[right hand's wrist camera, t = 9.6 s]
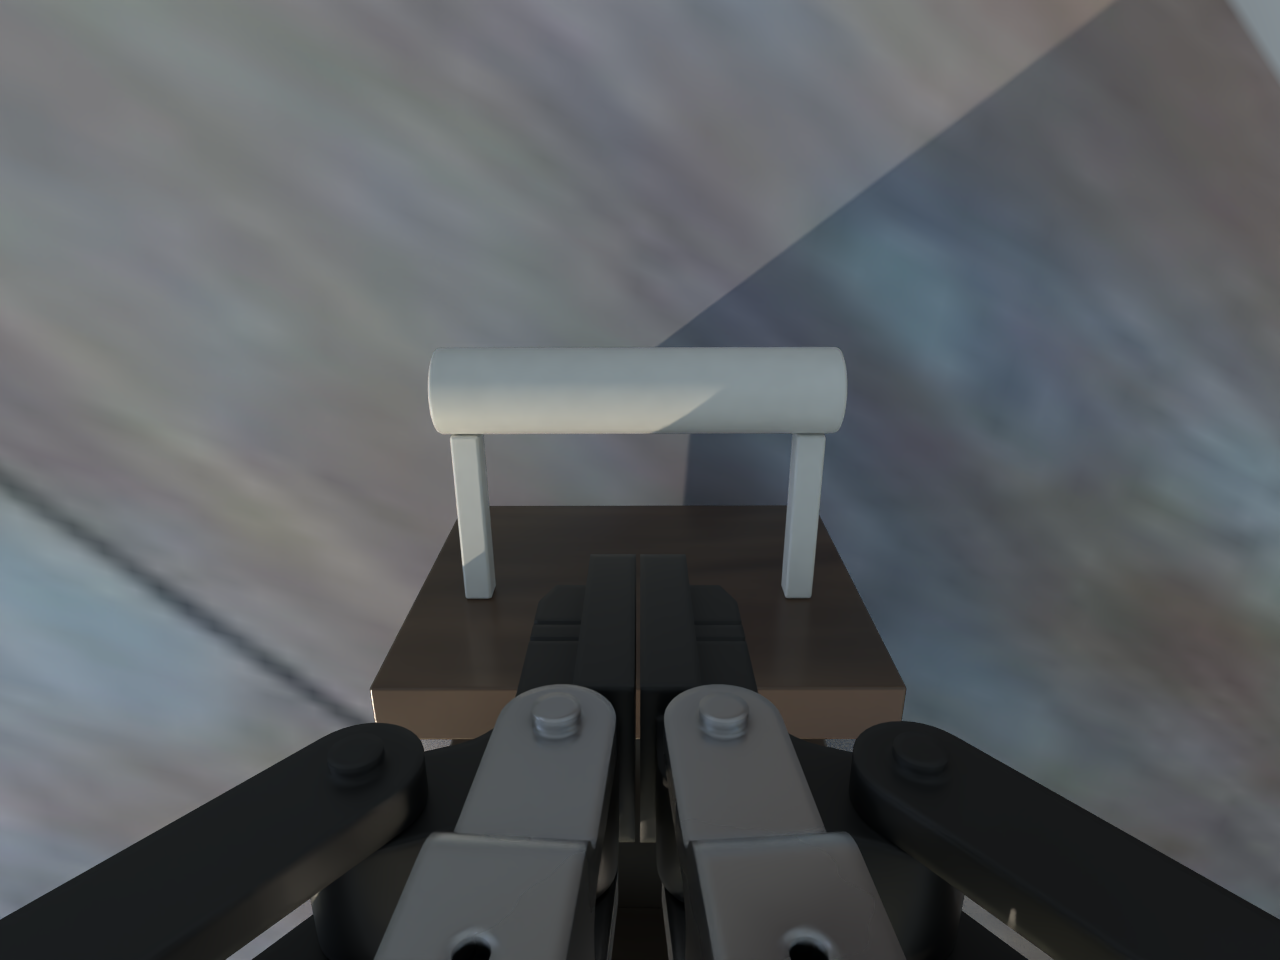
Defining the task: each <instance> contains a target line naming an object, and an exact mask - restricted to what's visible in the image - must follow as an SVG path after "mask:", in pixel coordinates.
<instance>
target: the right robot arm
mask: <svg viewBox="0 0 1280 960" xmlns="http://www.w3.org/2000/svg"><path fill="white" fill-rule="evenodd" d="M635 759H636V554H590V560H589V567H588V575H587V582H586V585H556V586H555V587H554V588H553V589H551V590H550V591H549V592H548V593H547V594H546V595H545V596H544V597H543V598H542V599H541V600H540V601H539V603H538V607H537V611H536V615H535V619H534V625H533V627H532V631H531V636H530V641H529V644H528V648H527V652H526V656H525V660H524V664H523V668H522V672H521V677H520V681H519V685H518V689H517V693H516V697H515V698H513V699H512V700H511V701H510V702H509V703H507V704H506V705H505V707H504V708H503V709H502V710H501V712H500V714H499V716H498V718H497V721H496V723H495V726H494V728H493V729H491V730H490V731H488V732H487V733H485V734H483V735H481V736H479V737H477V738H474V739H472V740H469V741H467V742H463V743H460V744H456V745H452V746H447V747H443V748H438V749H434V750H430V751H425V752H424V748H423V745H422V742H421V740H420V739H419V738H418V736H417V735H415V734H414V733H413V732H412V731H410V730H408V729H406V728H404V727H401V726H398V725H395V724H388V723H366V724H360V725H354V726H350V727H347V728H343V729H340V730H338V731H335V732H333V733H331V734H329V735H327V736H325V737H323V738H321V739H319V740H317V741H315V742H314V743H312V744H310V745H308V746H307V747H305V748H303V749H301V750H299V751H298V752H296V753H294V754H292V755H291V756H289V757H287V758H285V759H284V760H282V761H280V762H278V763H276V764H275V765H273V766H271V767H269V768H268V769H266V770H264V771H262V772H261V773H259V774H257V775H255V776H253V777H252V778H250V779H248V780H246V781H245V782H243V783H241V784H239V785H238V786H236V787H234V788H232V789H231V790H229V791H227V792H225V793H223V794H222V795H220V796H218V797H216V798H215V799H213V800H211V801H209V802H208V803H206V804H204V805H202V806H200V807H199V808H197V809H195V810H193V811H192V812H190V813H188V814H186V815H185V816H183V817H181V818H179V819H177V820H176V821H174V822H172V823H170V824H169V825H167V826H165V827H163V828H162V829H160V830H158V831H156V832H154V833H153V834H151V835H149V836H147V837H146V838H144V839H142V840H140V841H139V842H137V843H135V844H133V845H131V846H130V847H128V848H126V849H124V850H123V851H121V852H119V853H117V854H116V855H114V856H112V857H110V858H108V859H107V860H105V861H103V862H101V863H100V864H98V865H96V866H94V867H93V868H91V869H89V870H87V871H86V872H84V873H82V874H80V875H78V876H77V877H75V878H73V879H71V880H70V881H68V882H66V883H64V884H63V885H61V886H59V887H57V888H55V889H54V890H52V891H50V892H48V893H47V894H45V895H43V896H41V897H40V898H38V899H36V900H34V901H32V902H31V903H29V904H27V905H25V906H24V907H22V908H20V909H18V910H17V911H15V912H13V913H11V914H9V915H8V916H6V917H4V918H2V919H1V920H0V960H226V959H227V958H228V957H230V956H231V955H232V954H234V953H235V952H237V951H238V950H239V949H241V948H242V947H243V946H245V945H246V944H248V943H249V942H250V941H252V940H253V939H255V938H256V937H257V936H259V935H260V934H261V933H263V932H264V931H266V930H267V929H268V928H270V927H271V926H273V925H274V924H275V923H277V922H278V921H279V920H281V919H282V918H284V917H285V916H286V915H288V914H289V913H291V912H292V911H293V910H295V909H296V908H298V907H299V906H300V905H302V904H303V903H304V902H306V901H307V900H309V899H310V900H311V905H312V910H313V915H312V916H310V917H309V918H308V919H306V920H305V921H304V922H302V923H301V924H299V925H298V926H297V927H295V928H294V929H293V930H291V931H290V932H289V933H287V934H286V935H285V936H283V937H282V938H281V939H279V940H278V941H276V942H275V943H274V944H272V945H271V946H270V947H268V948H267V949H266V950H264V951H263V952H262V953H260V954H259V955H258V956H256V957H255V958H253V959H252V960H611V957H612V949H613V940H614V932H615V923H616V915H617V906H618V846H619V842H635ZM640 842H656V859H657V871H658V874H659V877H660V880H661V881H662V906H663V915H664V923H665V932H666V940H667V949H668V957H669V960H1028V959H1026V958H1025V957H1024V956H1022V955H1021V954H1020V953H1018V952H1017V951H1016V950H1014V949H1013V948H1012V947H1010V946H1009V945H1008V944H1006V943H1005V942H1004V941H1002V940H1001V939H999V938H998V937H997V936H995V935H994V934H993V933H991V932H990V931H989V930H987V929H986V928H985V927H983V926H982V925H981V924H979V923H978V922H976V921H975V920H974V919H972V918H971V917H970V916H968V915H967V914H966V913H964V912H963V911H962V905H963V900H964V895H966V896H967V897H969V898H970V899H971V900H973V901H974V902H976V903H977V904H978V905H980V906H981V907H982V908H984V909H985V910H987V911H988V912H989V913H991V914H992V915H994V916H995V917H996V918H998V919H999V920H1000V921H1002V922H1003V923H1005V924H1006V925H1007V926H1009V927H1010V928H1012V929H1013V930H1014V931H1016V932H1017V933H1019V934H1020V935H1021V936H1023V937H1024V938H1025V939H1027V940H1028V941H1030V942H1031V943H1032V944H1034V945H1035V946H1037V947H1038V948H1039V949H1041V950H1042V951H1043V952H1045V953H1046V954H1048V955H1049V956H1050V957H1051V958H1053V959H1054V960H1280V920H1279V919H1278V918H1276V917H1274V916H1272V915H1271V914H1269V913H1267V912H1265V911H1263V910H1262V909H1260V908H1258V907H1256V906H1255V905H1253V904H1251V903H1249V902H1248V901H1246V900H1244V899H1242V898H1240V897H1239V896H1237V895H1235V894H1233V893H1232V892H1230V891H1228V890H1226V889H1225V888H1223V887H1221V886H1219V885H1217V884H1216V883H1214V882H1212V881H1210V880H1209V879H1207V878H1205V877H1203V876H1202V875H1200V874H1198V873H1196V872H1194V871H1193V870H1191V869H1189V868H1187V867H1186V866H1184V865H1182V864H1180V863H1179V862H1177V861H1175V860H1173V859H1171V858H1170V857H1168V856H1166V855H1164V854H1163V853H1161V852H1159V851H1157V850H1156V849H1154V848H1152V847H1150V846H1148V845H1147V844H1145V843H1143V842H1141V841H1140V840H1138V839H1136V838H1134V837H1133V836H1131V835H1129V834H1127V833H1126V832H1124V831H1122V830H1120V829H1118V828H1117V827H1115V826H1113V825H1111V824H1110V823H1108V822H1106V821H1104V820H1103V819H1101V818H1099V817H1097V816H1095V815H1094V814H1092V813H1090V812H1088V811H1087V810H1085V809H1083V808H1081V807H1080V806H1078V805H1076V804H1074V803H1072V802H1071V801H1069V800H1067V799H1065V798H1064V797H1062V796H1060V795H1058V794H1057V793H1055V792H1053V791H1051V790H1049V789H1048V788H1046V787H1044V786H1042V785H1041V784H1039V783H1037V782H1035V781H1034V780H1032V779H1030V778H1028V777H1026V776H1025V775H1023V774H1021V773H1019V772H1018V771H1016V770H1014V769H1012V768H1011V767H1009V766H1007V765H1005V764H1003V763H1002V762H1000V761H998V760H996V759H995V758H993V757H991V756H989V755H988V754H986V753H984V752H982V751H980V750H979V749H977V748H975V747H973V746H972V745H970V744H968V743H966V742H965V741H963V740H961V739H959V738H958V737H956V736H954V735H952V734H950V733H948V732H946V731H944V730H941V729H938V728H936V727H933V726H929V725H926V724H921V723H916V722H907V721H891V722H885V723H880V724H877V725H874V726H871V727H870V728H868V729H866V730H865V731H863V732H862V733H861V734H860V735H859V736H858V738H857V739H856V741H855V744H854V747H853V753H852V752H848V751H844V750H839V749H835V748H830V747H826V746H821V745H817V744H814V743H810V742H807V741H805V740H802V739H799V738H797V737H795V736H793V735H791V734H789V733H788V731H787V729H786V726H785V723H784V721H783V718H782V716H781V714H780V712H779V710H778V709H777V708H776V707H775V705H774V704H773V703H771V702H770V701H769V700H768V699H767V698H765V697H763V696H762V695H760V694H758V689H757V685H756V681H755V676H754V672H753V668H752V664H751V659H750V655H749V651H748V646H747V642H746V641H745V634H744V629H743V625H742V621H741V616H740V612H739V608H738V604H737V601H736V600H735V599H734V598H733V597H732V596H731V595H730V594H728V593H727V592H726V591H725V590H724V589H723V588H722V587H721V586H720V585H689V577H688V569H687V560H686V555H685V554H640Z"/></svg>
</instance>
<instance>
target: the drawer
mask: <svg viewBox="0 0 1280 960" xmlns="http://www.w3.org/2000/svg"><path fill="white" fill-rule="evenodd" d="M428 400H429V408H430V414H431V418H432V421H433V424H434V427H435V429H436V430H437V431H438V432H439V433H441V434H452V435H451V437H450V444H451V454H452V464H453V474H454V485H455V495H456V505H457V515H458V518H457V520H456V522H455V524H454V526H453V528H452V530H451V532H450V534H449V536H448V538H447V540H446V542H445V544H444V546H443V548H442V549H441V551H440V553H439V555H438V557H437V559H436V561H435V563H434V565H433V567H432V569H431V571H430V573H429V575H428V577H427V579H426V581H425V582H424V584H423V586H422V588H421V590H420V592H419V594H418V596H417V598H416V600H415V602H414V604H413V606H412V608H411V610H410V612H409V614H408V616H407V617H406V619H405V621H404V623H403V625H402V627H401V629H400V631H399V633H398V635H397V637H396V639H395V641H394V643H393V645H392V647H391V649H390V650H389V652H388V654H387V656H386V658H385V660H384V662H383V664H382V666H381V668H380V670H379V672H378V674H377V676H376V678H375V680H374V682H373V684H372V685H371V687H370V693H371V700H372V706H373V712H374V719H375V723H388V724H395V725H398V726H401V727H404V728H406V729H408V730H410V731H412V732H413V733H414V734H415V735H417V736H418V738H419V739H452V741H451V744H450V746H452V745H456V744H460V743H463V742H467V741H469V740H472V739H474V738H477V737H479V736H481V735H483V734H485V733H487V732H488V731H490V730H491V729H493V728H494V726H495V723H496V721H497V718H498V716H499V714H500V712H501V710H502V709H503V708H504V707H505V705H506V704H507V703H509V702H510V701H511V700H512V699H513V698H515V697H516V693H517V689H518V685H519V681H520V677H521V672H522V668H523V664H524V660H525V656H526V652H527V648H528V644H529V641H530V636H531V631H532V627H533V625H534V619H535V615H536V611H537V607H538V603H539V601H540V600H541V599H542V598H543V597H544V596H545V595H546V594H547V593H548V592H549V591H550V590H551V589H553V588H554V587H555V586H556V585H586V582H587V575H588V567H589V560H590V554H636V759H635V842H619V846H618V906H617V915H616V923H615V932H614V940H613V949H612V957H611V960H669V957H668V949H667V940H666V932H665V923H664V915H663V906H662V881H661V880H660V877H659V874H658V871H657V859H656V842H640V554H685V555H686V560H687V569H688V577H689V585H720V586H721V587H722V588H723V589H724V590H725V591H726V592H727V593H728V594H730V595H731V596H732V597H733V598H734V599H735V600H736V601H737V604H738V608H739V612H740V616H741V621H742V625H743V629H744V634H745V641H746V642H747V646H748V651H749V655H750V659H751V664H752V668H753V672H754V676H755V681H756V685H757V689H758V694H760V695H762V696H763V697H765V698H767V699H768V700H769V701H770V702H771V703H773V704H774V705H775V707H776V708H777V709H778V710H779V712H780V714H781V716H782V718H783V721H784V723H785V726H786V729H787V731H788V733H789V734H791V735H793V736H795V737H797V738H799V739H802V740H805V741H807V742H810V743H814V744H817V745H821V746H826V747H827V744H826V741H825V739H857V738H858V736H859V735H860V734H861V733H862V732H863V731H865V730H866V729H868V728H870V727H871V726H874V725H877V724H880V723H885V722H891V721H902V714H903V707H904V701H905V694H906V686H905V684H904V682H903V680H902V678H901V676H900V674H899V673H898V671H897V669H896V667H895V665H894V663H893V661H892V659H891V657H890V655H889V653H888V651H887V649H886V647H885V645H884V643H883V641H882V639H881V637H880V635H879V633H878V631H877V629H876V627H875V625H874V623H873V621H872V619H871V617H870V615H869V613H868V611H867V609H866V607H865V605H864V603H863V601H862V599H861V597H860V595H859V593H858V591H857V589H856V587H855V585H854V583H853V581H852V579H851V577H850V575H849V573H848V571H847V569H846V567H845V565H844V563H843V561H842V559H841V557H840V555H839V553H838V551H837V549H836V547H835V545H834V543H833V541H832V540H831V538H830V536H829V534H828V532H827V530H826V528H825V526H824V524H823V522H822V520H821V518H820V516H819V508H820V497H821V486H822V475H823V464H824V453H825V442H826V437H825V435H824V433H835V432H837V431H838V430H839V429H840V427H841V425H842V422H843V419H844V415H845V410H846V402H847V370H846V364H845V360H844V356H843V353H842V351H841V350H840V349H839V348H837V347H602V348H438V349H436V350H435V351H434V353H433V355H432V358H431V361H430V366H429V373H428ZM718 433H792V446H791V460H790V473H789V487H788V500H787V506H489V496H488V483H487V471H486V458H485V446H484V434H718Z"/></svg>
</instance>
